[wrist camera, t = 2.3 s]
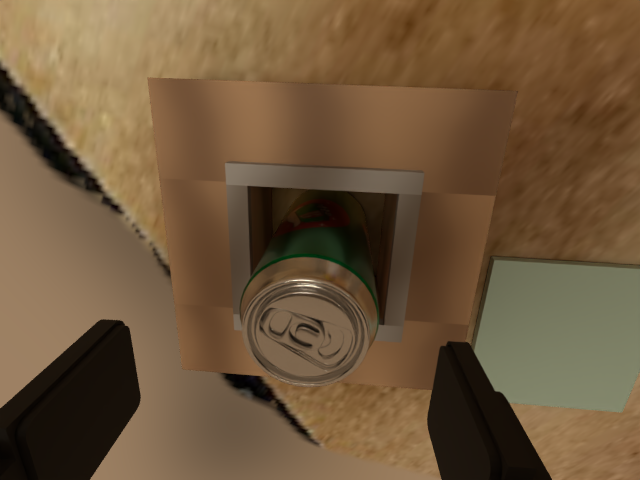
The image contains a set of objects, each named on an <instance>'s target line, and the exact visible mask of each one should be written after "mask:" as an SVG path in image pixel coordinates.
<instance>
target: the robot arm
mask: <svg viewBox="0 0 640 480" xmlns="http://www.w3.org/2000/svg"><path fill="white" fill-rule="evenodd" d="M140 398H141V397H140V390H139V383H138V377H137V372H136V365H135V359H134V353H133V347H132V342H131V335H130V330H129V328H128V326H125V324H124V323H123V321H120V320H100V321H98V322H97V323H96V324H95V325H94V326H93V327H92V328H90V329H89V330H88V331H87V332H86V333H85V334H84V335H83V336H81V337H80V338H79V339H78V340H77V341H76V342H75V343H73V344H72V345H71V346H70V347H69V348H68V349H67V350H66V351H64V352H63V353H62V354H61V355H60V356H59V357H58V358H57V359H55V360H54V361H53V362H52V363H51V364H50V365H49V366H48V367H47V368H46V369H44V370H43V371H42V372H41V373H40V374H39V375H37V376H36V377H35V378H34V379H33V380H32V381H31V382H30V383H29V384H27V385H26V386H25V387H24V388H23V389H22V390H21V391H20V392H18V393H17V394H16V395H15V396H14V397H13V398H12V399H11V400H9V401H8V402H7V403H6V404H5V405H4V406H3V407H2V408H0V480H90V479H91V477H92V476H93V474H94V472H95V471H96V469H97V468H98V467H99V465H100V464H101V462H102V460H103V459H104V458H105V456H106V455H107V453H108V452H109V450H110V449H111V447H112V446H113V444H114V443H115V441H116V440H117V438H118V437H119V435H120V434H121V432H122V431H123V429H124V428H125V426H126V425H127V423H128V422H129V420H130V419H131V417H132V416H133V414H134V413H135V412H136V410H137V408H138V406H139V403H140ZM427 422H428V430H429V434H430V438H431V441H432V445H433V449H434V453H435V456H436V460H437V464H438V467H439V471H440V475H441V479H442V480H552V479H551V477H550V475H549V473H548V472H547V470H546V468H545V466H544V464H543V463H542V461H541V459H540V457H539V456H538V454H537V452H536V450H535V448H534V447H533V445H532V443H531V441H530V440H529V438H528V436H527V434H526V432H525V431H524V429H523V427H522V425H521V424H520V422H519V420H518V418H517V416H516V415H515V413H514V411H513V409H512V408H511V406H510V404H509V402H508V400H507V399H506V397H505V396H504V394H503V393H501V392H500V391H495V390H494V388H493V386H492V384H491V382H490V381H489V379H488V377H487V375H486V373H485V371H484V369H483V368H482V366H481V364H480V362H479V360H478V358H477V356H476V355H475V353H474V351H473V349H472V347H471V345H470V344H469V343H468V342H455V341H448V342H447V344H446V346H441V347H440V350H439V355H438V360H437V366H436V372H435V377H434V383H433V389H432V394H431V400H430V406H429V411H428V418H427Z"/></svg>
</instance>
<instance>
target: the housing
mask: <svg viewBox="0 0 640 480" xmlns="http://www.w3.org/2000/svg"><path fill="white" fill-rule="evenodd" d="M148 86H149V95H150V103H151V111H152V120H153V128H154V137H155V145H156V153H157V162H158V170H159V178H160V187H161V195H162V203H163V212H164V220H165V229H166V237H167V245H168V254H169V262H170V270H171V279H172V287H173V296H174V303H175V312H176V321H177V329H178V337H179V345H180V354H181V362H182V369H184V370H196V371H208V372H220V373H232V374H244V375H256V376H268V377H271V376H270V375H268V374H267V373H266V372H264V371H263V370H262V369H261V368H260V367H259V366H257V364H256V363H255V362H254V361H253V360H252V358H251V357H250V355H249V353H248V352H247V349H246V347H245V344H244V341H243V336H242V325H241V321H240V311H239V307H240V300H241V296H242V293H243V290H244V288H245V286H246V285H247V283H248V281H249V279H250V277H251V276H252V274H253V272H254V270H255V269H256V267H257V265H258V263H259V261H260V260H261V258H262V256H263V254H264V253H265V251H266V249H267V247H268V245H269V244H270V242H271V240H272V188H271V187H280V188H298V189H317V190H336V191H355V192H374V193H385V202H384V211H383V221H382V231H381V241H380V251H379V261H378V271H377V277H374V278H375V286H376V293H377V300H378V307H379V327H378V331H377V334H376V337H375V339H374V341H373V343H372V345H371V347H370V348H369V349H368V351H367V353H366V355H365V357H364V359H363V361H362V362H361V364H360V365H359V366H358V368H357V369H356V370H354V371H353V372H352V373H351V374H350V375H348V376H347V377H345V378H344V379H342V380H340V381H338V382H340V383H352V384H364V385H377V386H389V387H401V388H413V389H425V390H432V389H433V383H434V377H435V372H436V366H437V360H438V355H439V350H440V347H441V346H446V344H447V342H448V341H455V342H465V340H466V336H467V331H468V326H469V321H470V317H471V312H472V307H473V302H474V298H475V293H476V288H477V283H478V279H479V274H480V269H481V264H482V260H483V255H484V250H485V245H486V241H487V236H488V231H489V226H490V222H491V217H492V212H493V207H494V203H495V198H496V193H497V188H498V184H499V179H500V174H501V169H502V165H503V160H504V155H505V150H506V146H507V141H508V136H509V131H510V127H511V122H512V117H513V112H514V108H515V103H516V98H517V93H518V91H505V90H477V89H449V88H422V87H394V86H366V85H338V84H311V83H283V82H255V81H227V80H200V79H172V78H148Z"/></svg>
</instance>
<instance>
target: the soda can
mask: <svg viewBox="0 0 640 480" xmlns="http://www.w3.org/2000/svg"><path fill="white" fill-rule="evenodd" d="M239 311H240V321H241V325H242V336H243V341H244V344H245V347H246V349H247V352H248V353H249V355H250V357H251V358H252V360H253V361H254V362H255V363H256V364H257V366H259V367H260V368H261V369H262V370H263V371H264V372H266V373H267V374H268V375H270V376H271V377H273V378H275V379H277V380H279V381H282V382H284V383H287V384H291V385H295V386H301V387H319V386H325V385H329V384H332V383H336V382H338V381H340V380H342V379H344V378H345V377H347V376H348V375H350V374H351V373H352V372H353V371H354V370H356V369H357V368H358V366H359V365H360V364H361V362H362V361H363V359H364V357H365V355H366V353H367V351H368V349H369V348H370V347H371V345H372V343H373V341H374V339H375V337H376V334H377V331H378V327H379V307H378V300H377V293H376V286H375V278H374V271H373V264H372V257H371V249H370V242H369V235H368V228H367V221H366V216H365V213H364V211H363V209H362V207H361V206H360V204H359V203H358V202H357V200H356V199H355V198H354V197H352V196H351V195H350V194H348V193H347V192H345V191H336V190H317V189H311V190H308V191H306V192H304V193H303V194H301V195H300V196H299V197H298V198H297V199H295V201H294V202H293V203H292V204H291V206H290V208H289V210H288V212H287V213H286V215H285V217H284V219H283V221H282V222H281V224H280V226H279V228H278V229H277V231H276V233H275V235H274V237H273V238H272V240H271V242H270V244H269V245H268V247H267V249H266V251H265V253H264V254H263V256H262V258H261V260H260V261H259V263H258V265H257V267H256V269H255V270H254V272H253V274H252V276H251V277H250V279H249V281H248V283H247V285H246V286H245V288H244V290H243V293H242V296H241V300H240V307H239Z"/></svg>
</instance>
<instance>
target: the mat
mask: <svg viewBox="0 0 640 480" xmlns="http://www.w3.org/2000/svg"><path fill="white" fill-rule="evenodd" d="M471 347H472V349H473V351H474V353H475V355H476V356H477V358H478V360H479V362H480V364H481V366H482V368H483V369H484V371H485V373H486V375H487V377H488V379H489V381H490V382H491V384H492V386H493V388H494V390H495V391H500V392H501V393H503V394H504V396H505V397H506V399H507V400H508V402H509V403H516V404H528V405H540V406H552V407H564V408H575V409H587V410H599V411H611V412H623V409H624V407H625V405H626V402H627V400H628V398H629V395H630V393H631V391H632V388H633V386H634V384H635V381H636V379H637V377H638V374H639V372H640V265H626V264H610V263H594V262H577V261H561V260H545V259H529V258H512V257H496V256H491V258H490V263H489V268H488V272H487V277H486V281H485V286H484V290H483V295H482V300H481V304H480V309H479V313H478V318H477V323H476V327H475V332H474V336H473V341H472V345H471Z"/></svg>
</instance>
